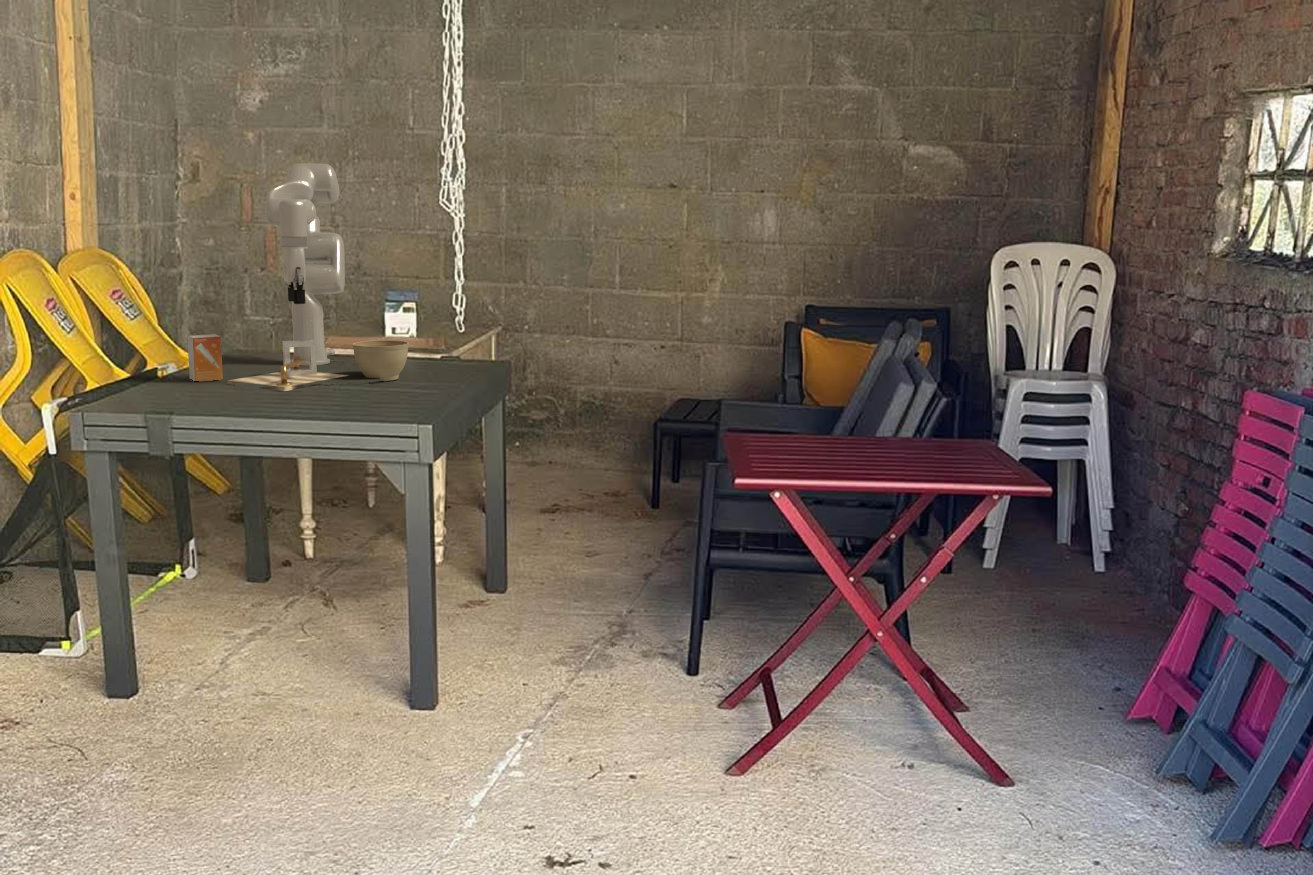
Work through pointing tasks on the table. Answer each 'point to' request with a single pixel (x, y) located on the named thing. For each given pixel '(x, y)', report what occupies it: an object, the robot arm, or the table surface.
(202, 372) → the small box
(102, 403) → the table surface
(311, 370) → the white square frame
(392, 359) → the planter bowl
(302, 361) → the brass faucet
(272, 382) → the base board
